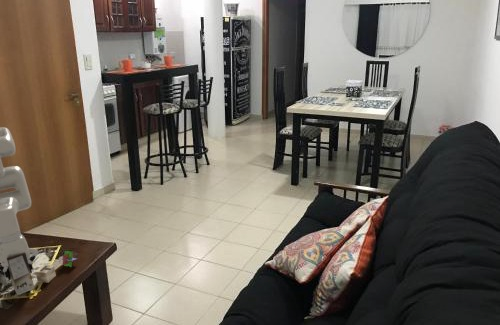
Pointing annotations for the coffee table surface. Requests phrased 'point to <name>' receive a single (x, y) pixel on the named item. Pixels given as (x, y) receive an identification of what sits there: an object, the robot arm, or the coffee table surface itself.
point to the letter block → (45, 273)
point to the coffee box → (20, 273)
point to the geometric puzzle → (67, 259)
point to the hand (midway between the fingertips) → (20, 274)
